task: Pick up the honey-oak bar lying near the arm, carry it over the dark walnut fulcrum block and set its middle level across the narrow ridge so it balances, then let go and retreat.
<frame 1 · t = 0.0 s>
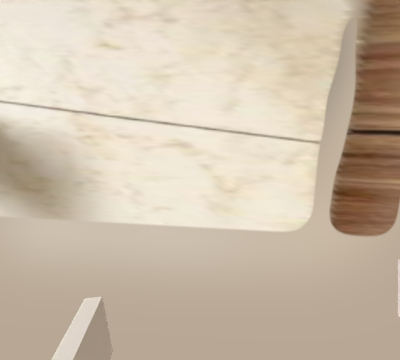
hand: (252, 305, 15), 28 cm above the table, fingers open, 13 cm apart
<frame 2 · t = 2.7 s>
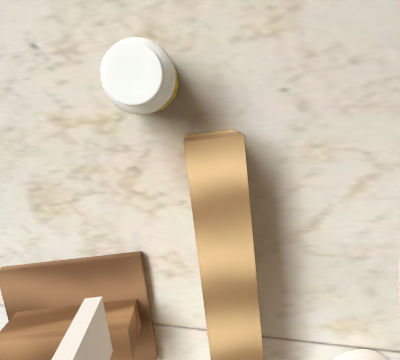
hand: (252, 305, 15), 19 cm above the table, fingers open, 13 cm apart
supplement bottle: (149, 82, 32), on the table
fulcrum: (82, 312, 36), on the table
plank: (222, 259, 35), on the table
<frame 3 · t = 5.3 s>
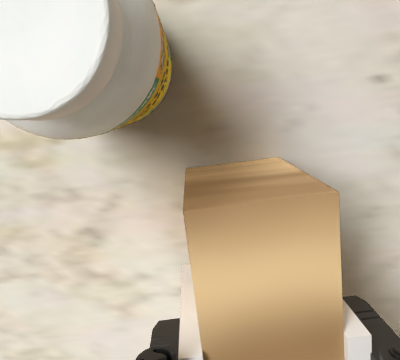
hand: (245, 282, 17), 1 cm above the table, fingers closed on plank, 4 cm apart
supplement bottle: (114, 66, 16), on the table
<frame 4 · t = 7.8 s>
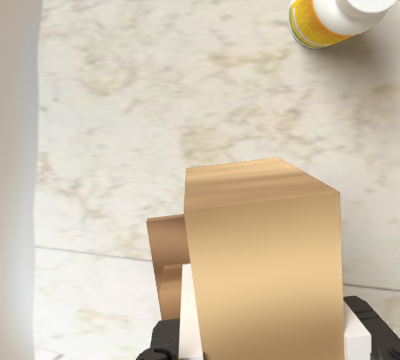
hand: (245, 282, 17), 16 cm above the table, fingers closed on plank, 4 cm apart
supplement bottle: (316, 17, 30), on the table
fulcrum: (227, 267, 34), on the table
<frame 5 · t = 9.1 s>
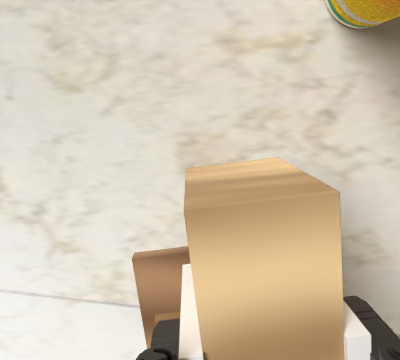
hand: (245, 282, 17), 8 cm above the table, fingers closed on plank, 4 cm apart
fulcrum: (237, 314, 27), on the table
when the fingers open (8 cm above the table, at t = 10.3 s): plank stays where it is, resting on fulcrum.
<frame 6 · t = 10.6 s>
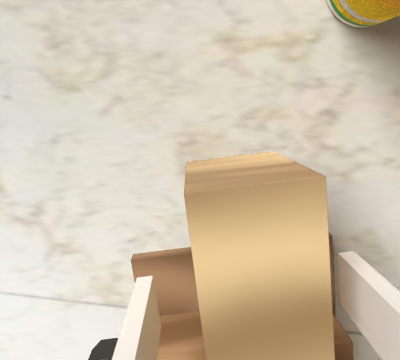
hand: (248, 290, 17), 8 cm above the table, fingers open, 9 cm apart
fulcrum: (237, 316, 26), on the table
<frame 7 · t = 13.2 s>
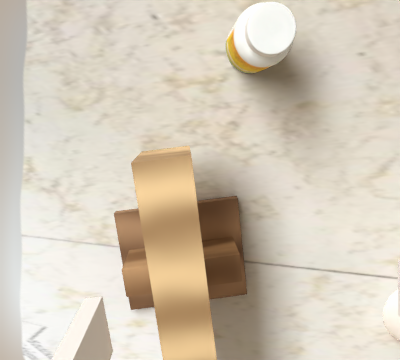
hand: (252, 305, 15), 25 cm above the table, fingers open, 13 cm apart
supplement bottle: (249, 48, 37), on the table
fulcrum: (182, 252, 41), on the table
plank: (183, 274, 35), point 6 cm above the table, touching fulcrum
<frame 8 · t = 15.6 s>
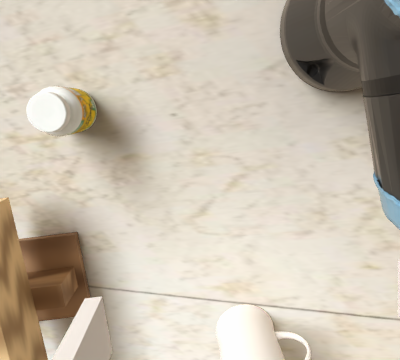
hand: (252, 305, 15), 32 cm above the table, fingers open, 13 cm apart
supplement bottle: (77, 110, 44), on the table
fulcrum: (35, 278, 49), on the table
plank: (14, 301, 43), point 6 cm above the table, touching fulcrum
mug: (255, 326, 52), on the table
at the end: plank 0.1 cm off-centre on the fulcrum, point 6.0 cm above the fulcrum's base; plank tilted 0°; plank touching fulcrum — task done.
